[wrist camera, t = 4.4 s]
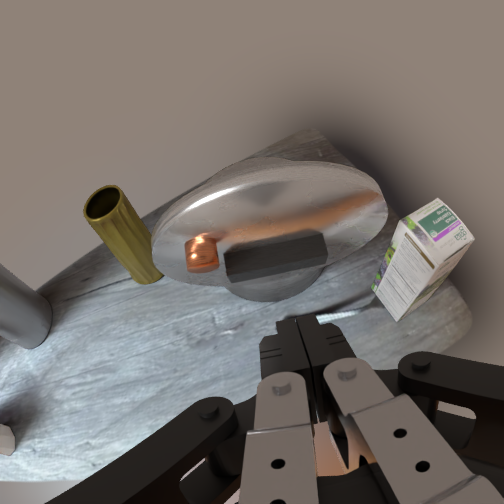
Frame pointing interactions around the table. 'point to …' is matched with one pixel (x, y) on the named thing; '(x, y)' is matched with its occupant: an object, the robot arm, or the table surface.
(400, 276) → the syrup box
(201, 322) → the table surface
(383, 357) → the table surface
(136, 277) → the vase
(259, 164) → the steel pot
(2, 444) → the pepper shaker
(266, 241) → the pot lid
